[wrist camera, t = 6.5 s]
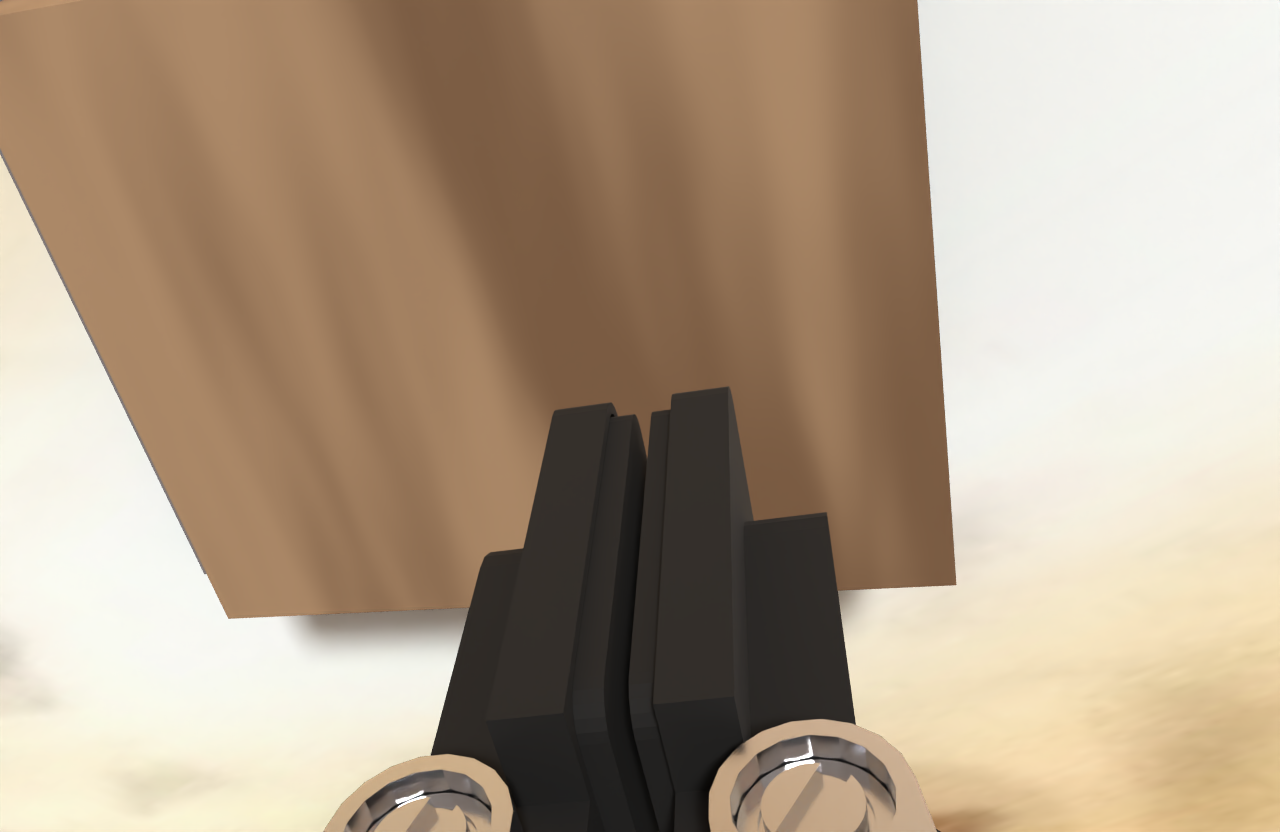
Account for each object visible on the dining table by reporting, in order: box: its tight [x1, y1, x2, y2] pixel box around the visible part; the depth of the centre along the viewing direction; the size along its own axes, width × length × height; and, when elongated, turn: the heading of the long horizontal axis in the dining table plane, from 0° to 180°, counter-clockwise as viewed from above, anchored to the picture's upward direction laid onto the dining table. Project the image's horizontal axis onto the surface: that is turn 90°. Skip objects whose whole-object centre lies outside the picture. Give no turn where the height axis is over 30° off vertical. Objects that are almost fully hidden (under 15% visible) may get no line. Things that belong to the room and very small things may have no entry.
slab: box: [0, 0, 956, 619], centre depth 18 cm, size 4×10×12 cm
